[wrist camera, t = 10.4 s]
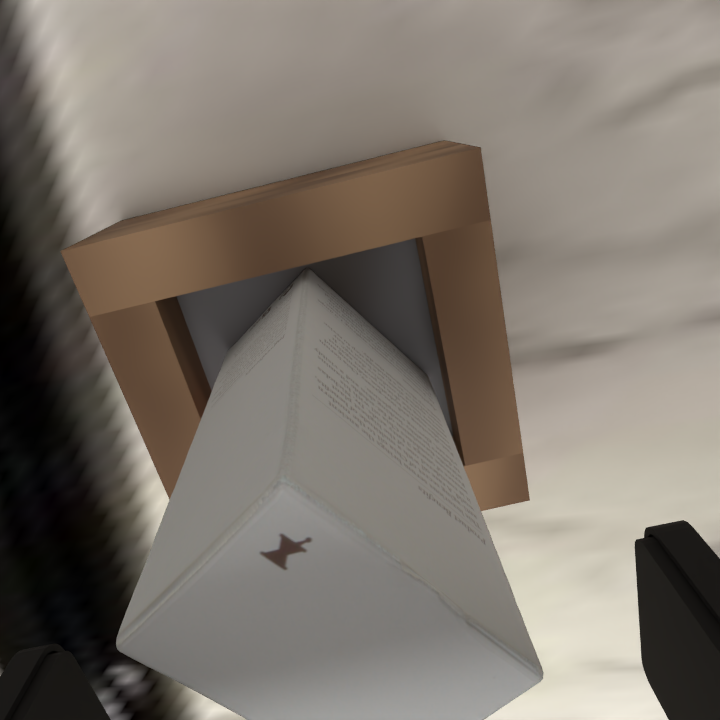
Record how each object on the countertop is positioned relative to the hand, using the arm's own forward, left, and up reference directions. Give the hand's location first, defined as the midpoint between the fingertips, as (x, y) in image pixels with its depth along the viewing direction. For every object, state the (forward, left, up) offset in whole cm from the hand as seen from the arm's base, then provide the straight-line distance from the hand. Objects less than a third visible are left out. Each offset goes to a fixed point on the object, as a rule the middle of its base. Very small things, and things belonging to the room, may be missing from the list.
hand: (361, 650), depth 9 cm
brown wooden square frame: (+1, 0, -15) cm, 15 cm away
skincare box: (0, 0, -12) cm, 12 cm away
